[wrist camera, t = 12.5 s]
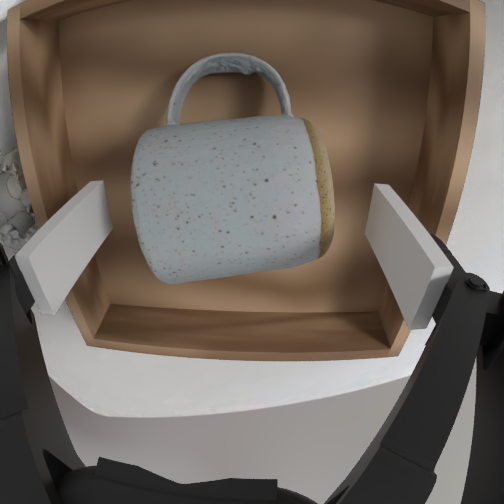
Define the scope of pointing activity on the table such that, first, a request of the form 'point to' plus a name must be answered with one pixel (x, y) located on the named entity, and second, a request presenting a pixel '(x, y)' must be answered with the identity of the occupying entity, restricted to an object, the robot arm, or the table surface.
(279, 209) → the ceramic mug
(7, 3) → the square plate
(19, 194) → the egg carton
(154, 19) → the wooden crate
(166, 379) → the table surface
